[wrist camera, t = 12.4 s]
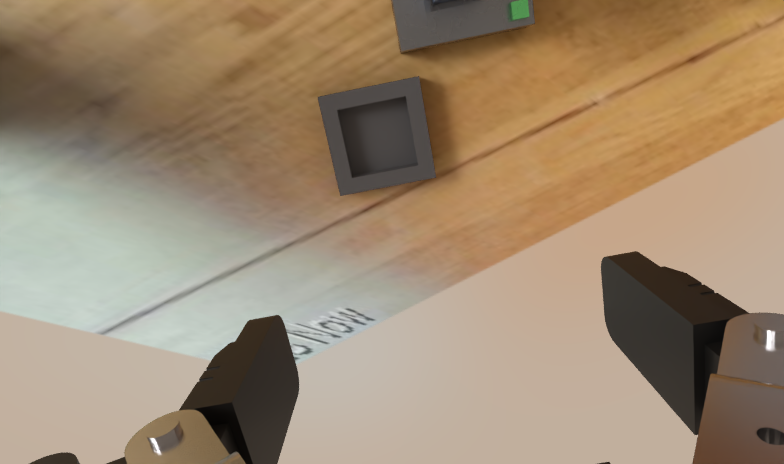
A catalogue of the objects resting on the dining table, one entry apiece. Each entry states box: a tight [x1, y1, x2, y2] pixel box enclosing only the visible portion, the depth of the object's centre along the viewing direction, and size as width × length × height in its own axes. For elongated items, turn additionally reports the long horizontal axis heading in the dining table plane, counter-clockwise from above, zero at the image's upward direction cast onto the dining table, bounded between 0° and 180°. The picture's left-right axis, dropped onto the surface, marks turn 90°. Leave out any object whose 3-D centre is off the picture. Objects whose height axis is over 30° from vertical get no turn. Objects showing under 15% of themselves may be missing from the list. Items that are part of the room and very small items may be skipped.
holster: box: [318, 76, 436, 196], centre depth 39 cm, size 8×8×2 cm
